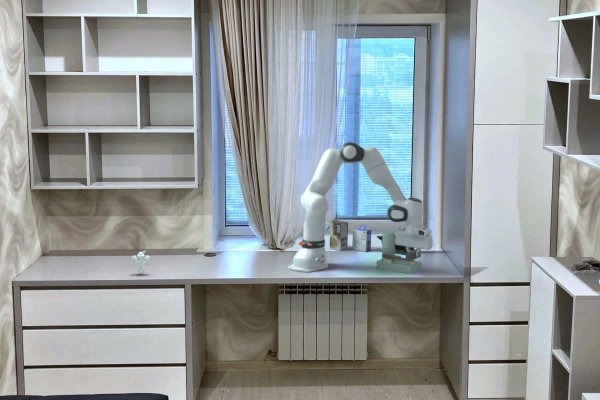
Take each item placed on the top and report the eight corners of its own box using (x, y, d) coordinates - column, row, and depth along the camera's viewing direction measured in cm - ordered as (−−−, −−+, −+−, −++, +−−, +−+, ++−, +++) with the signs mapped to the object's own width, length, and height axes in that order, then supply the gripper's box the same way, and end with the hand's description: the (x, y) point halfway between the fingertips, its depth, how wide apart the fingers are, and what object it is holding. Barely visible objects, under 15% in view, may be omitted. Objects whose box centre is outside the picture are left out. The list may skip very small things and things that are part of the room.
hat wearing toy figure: (150, 272, 393) (150, 249, 391) (149, 274, 389) (148, 251, 387) (132, 272, 392) (132, 249, 390) (131, 274, 389) (130, 251, 387)
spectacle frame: (409, 261, 393) (409, 253, 392) (381, 256, 402) (381, 249, 401) (420, 256, 402) (420, 249, 401) (392, 252, 412) (393, 245, 411)
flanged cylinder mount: (410, 274, 393) (411, 239, 390) (376, 268, 404) (377, 234, 401) (421, 269, 403) (422, 235, 400) (387, 263, 414) (388, 230, 411)
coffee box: (348, 249, 446) (348, 222, 444) (340, 251, 442) (340, 223, 439) (336, 246, 453) (337, 219, 450) (329, 248, 449) (329, 221, 446)
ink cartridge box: (371, 250, 445) (372, 225, 442) (366, 252, 440) (366, 227, 438) (357, 247, 451) (357, 223, 448) (351, 249, 446) (352, 225, 444)
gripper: (393, 227, 399) (392, 253, 401) (428, 233, 387) (428, 259, 389) (399, 226, 404) (398, 251, 406) (434, 230, 392) (433, 257, 394)
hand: (413, 255), depth 398 cm, fingers closed on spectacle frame, 2 cm apart
